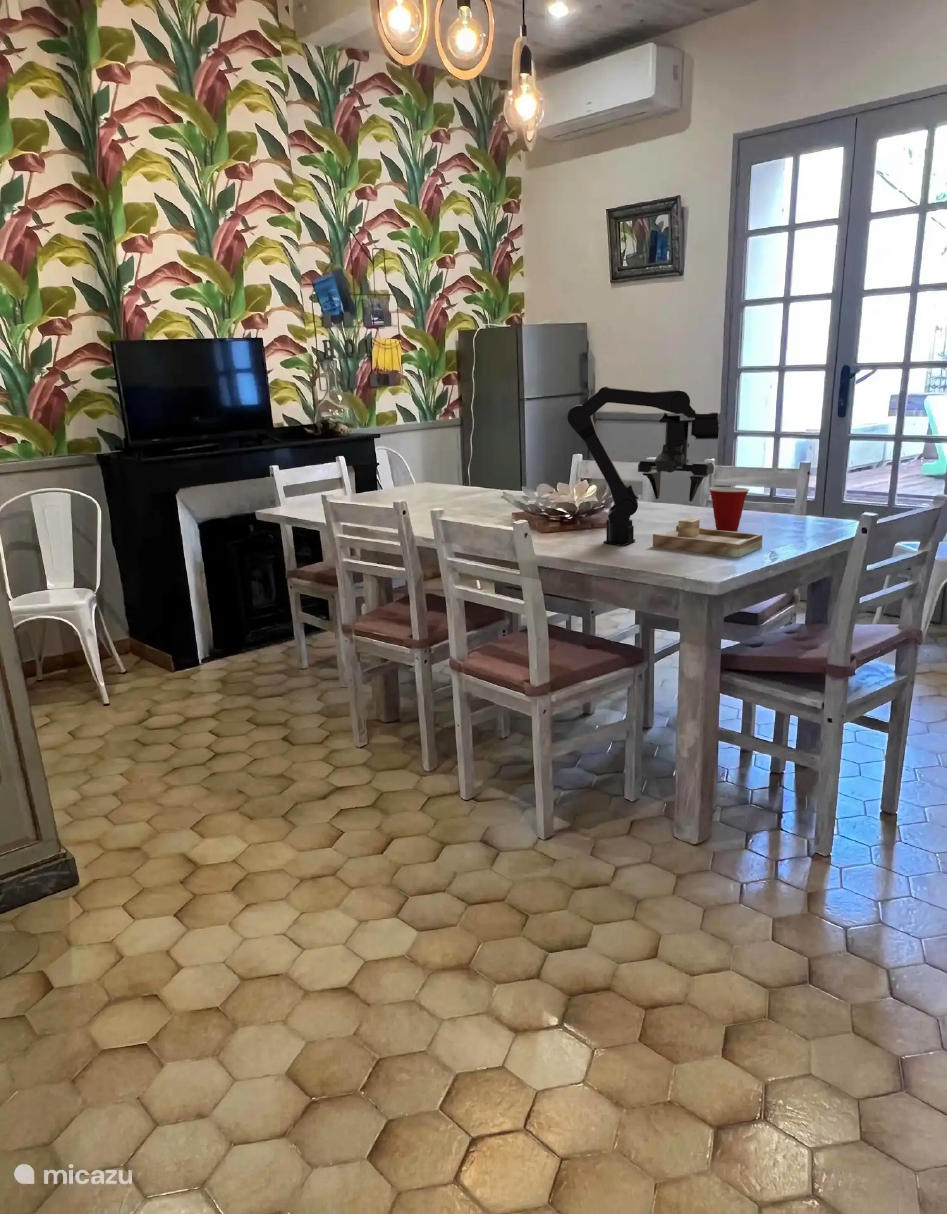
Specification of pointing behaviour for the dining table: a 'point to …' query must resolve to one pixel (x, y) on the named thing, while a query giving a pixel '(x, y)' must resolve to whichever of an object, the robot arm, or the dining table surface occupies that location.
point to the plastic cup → (728, 506)
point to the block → (688, 527)
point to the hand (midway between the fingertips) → (673, 500)
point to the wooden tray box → (711, 542)
